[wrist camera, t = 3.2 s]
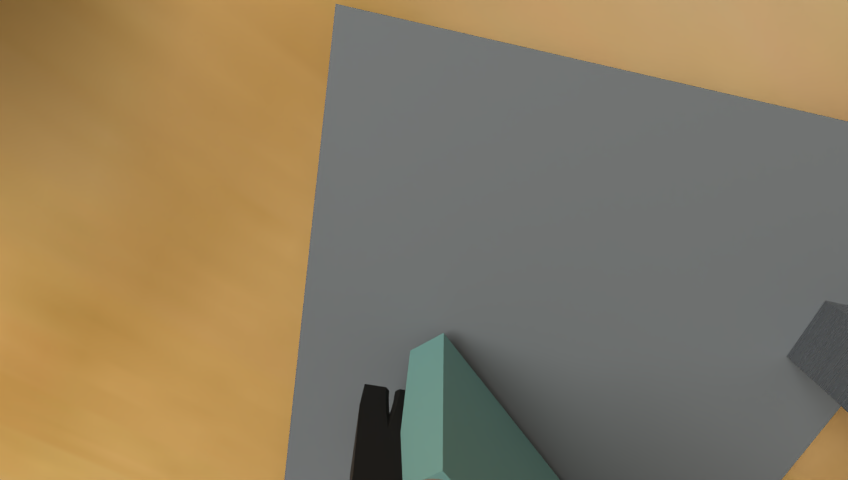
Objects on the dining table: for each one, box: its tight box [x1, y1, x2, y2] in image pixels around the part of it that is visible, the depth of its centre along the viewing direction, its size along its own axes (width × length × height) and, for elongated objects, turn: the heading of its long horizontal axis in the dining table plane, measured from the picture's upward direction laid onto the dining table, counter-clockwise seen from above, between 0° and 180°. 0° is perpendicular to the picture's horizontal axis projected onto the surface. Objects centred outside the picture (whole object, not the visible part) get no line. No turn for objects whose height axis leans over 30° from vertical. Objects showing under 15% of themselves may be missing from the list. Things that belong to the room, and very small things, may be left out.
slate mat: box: [285, 4, 848, 480], centre depth 14 cm, size 21×17×1 cm
